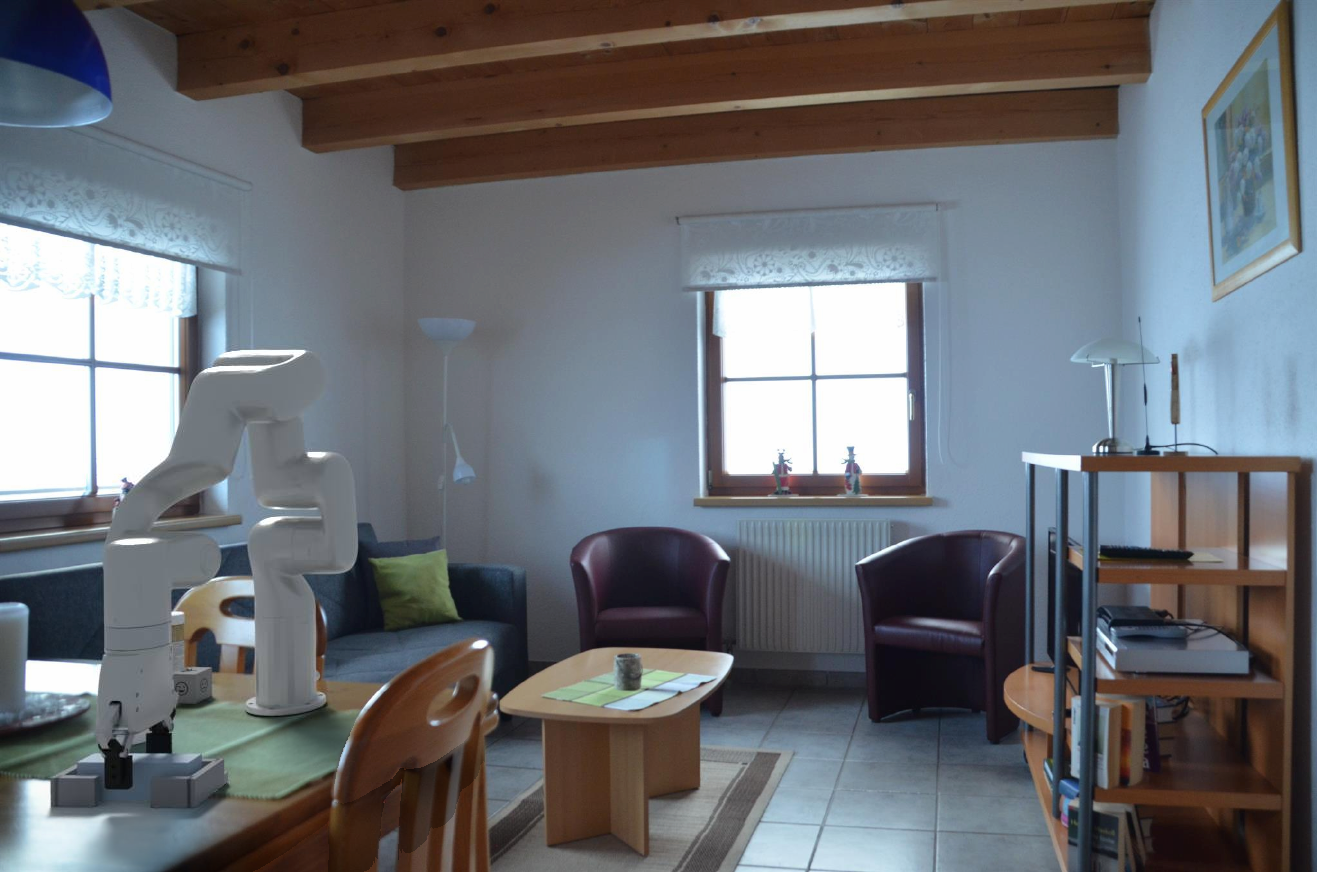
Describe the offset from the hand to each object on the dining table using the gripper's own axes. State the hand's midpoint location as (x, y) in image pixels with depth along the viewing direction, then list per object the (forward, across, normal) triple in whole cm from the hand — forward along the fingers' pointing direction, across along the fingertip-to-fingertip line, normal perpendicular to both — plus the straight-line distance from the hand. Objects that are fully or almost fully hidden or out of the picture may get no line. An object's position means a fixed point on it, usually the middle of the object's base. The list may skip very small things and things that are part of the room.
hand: (139, 775), depth 125 cm
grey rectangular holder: (+3, 0, 0) cm, 3 cm away
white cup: (+3, -23, -14) cm, 27 cm away
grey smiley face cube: (+3, -46, -17) cm, 49 cm away
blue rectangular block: (+3, 0, 0) cm, 3 cm away
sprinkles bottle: (+3, -53, -24) cm, 58 cm away
